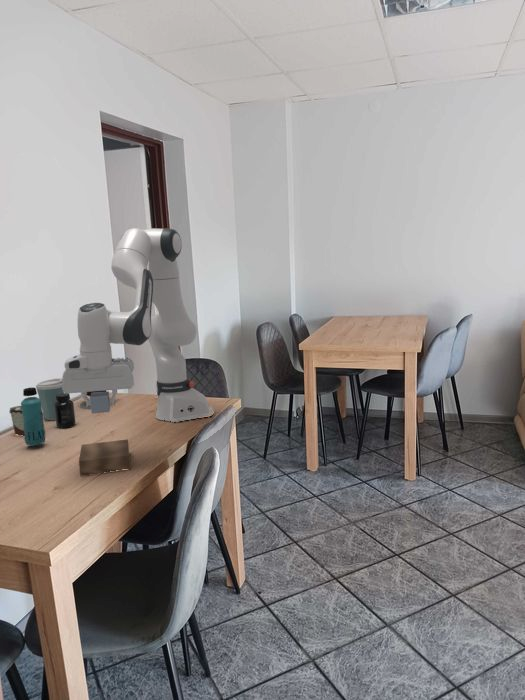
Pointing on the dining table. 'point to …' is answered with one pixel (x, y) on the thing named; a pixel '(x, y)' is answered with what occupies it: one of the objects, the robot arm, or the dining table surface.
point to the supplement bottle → (64, 411)
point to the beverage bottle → (32, 418)
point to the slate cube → (100, 402)
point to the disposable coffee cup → (49, 396)
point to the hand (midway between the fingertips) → (100, 405)
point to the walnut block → (104, 457)
